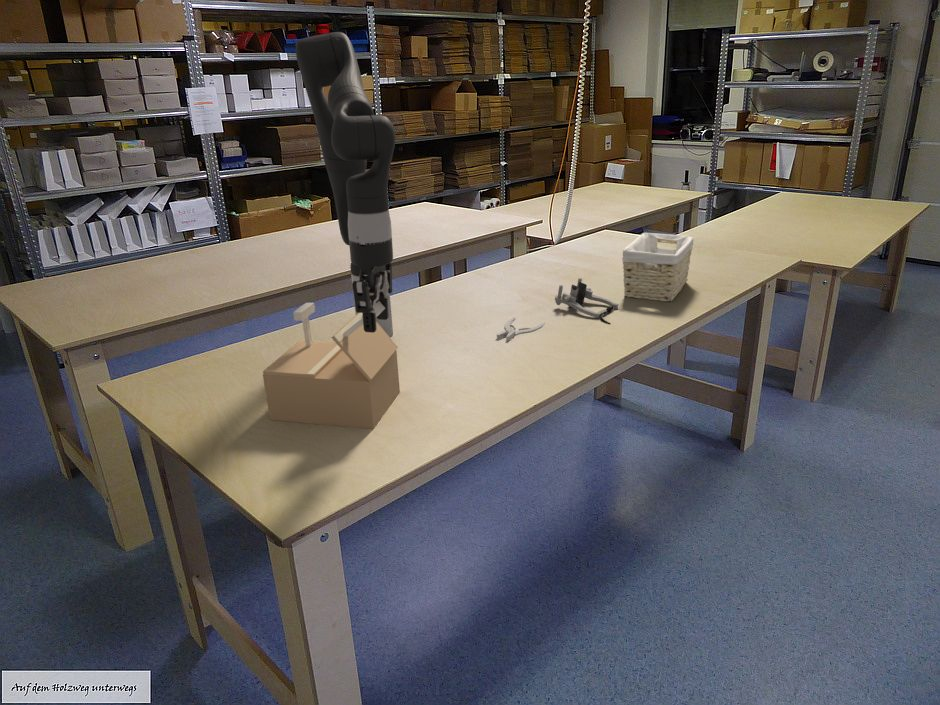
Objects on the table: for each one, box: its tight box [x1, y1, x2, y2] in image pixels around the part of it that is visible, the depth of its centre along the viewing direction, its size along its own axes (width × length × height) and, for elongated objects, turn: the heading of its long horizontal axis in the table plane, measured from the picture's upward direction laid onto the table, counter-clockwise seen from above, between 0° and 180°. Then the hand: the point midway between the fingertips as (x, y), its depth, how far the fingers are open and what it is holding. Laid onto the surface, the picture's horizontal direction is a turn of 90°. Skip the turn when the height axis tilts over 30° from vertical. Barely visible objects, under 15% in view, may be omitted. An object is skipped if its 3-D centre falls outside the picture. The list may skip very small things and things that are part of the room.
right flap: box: [330, 301, 399, 381], centre depth 128 cm, size 16×11×9 cm
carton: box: [262, 302, 401, 430], centre depth 134 cm, size 16×22×19 cm
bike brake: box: [554, 277, 619, 325], centre depth 185 cm, size 14×7×20 cm
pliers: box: [496, 317, 546, 342], centre depth 174 cm, size 10×2×15 cm
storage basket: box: [622, 232, 694, 302], centre depth 199 cm, size 24×16×15 cm
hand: (376, 324), depth 123 cm, fingers closed on right flap, 6 cm apart
